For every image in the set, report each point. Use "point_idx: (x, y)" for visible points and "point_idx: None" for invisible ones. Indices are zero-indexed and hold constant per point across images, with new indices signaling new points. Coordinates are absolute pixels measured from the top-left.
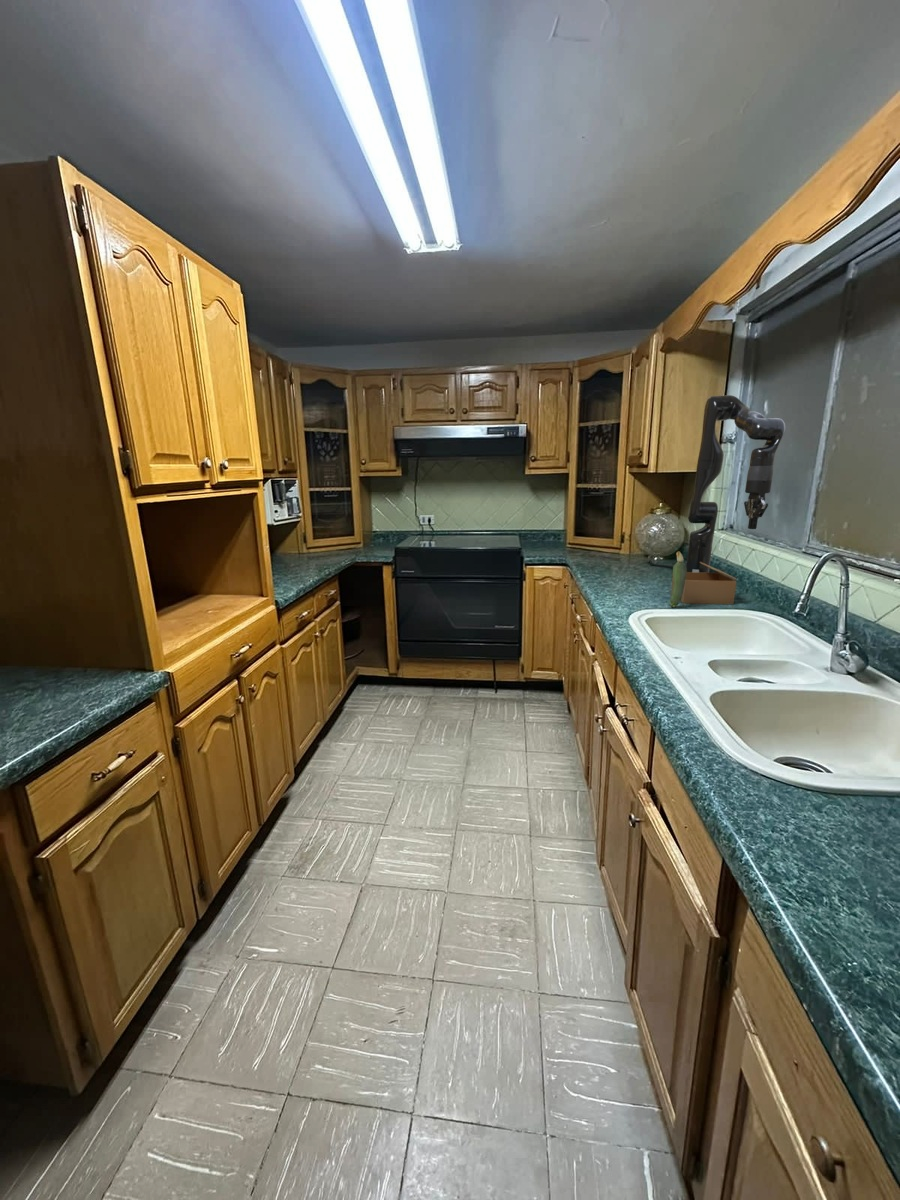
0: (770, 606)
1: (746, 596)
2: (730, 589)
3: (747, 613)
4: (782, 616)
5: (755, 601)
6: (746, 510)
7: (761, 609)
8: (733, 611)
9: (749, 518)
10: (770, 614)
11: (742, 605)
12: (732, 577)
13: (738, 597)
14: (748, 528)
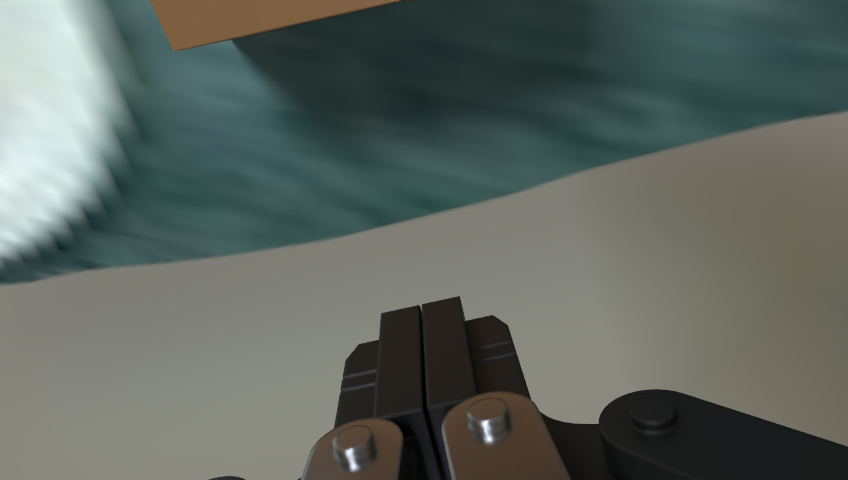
0: (264, 249)
1: (497, 165)
2: None
3: (21, 84)
4: (45, 260)
5: (368, 192)
6: (786, 476)
7: (164, 185)
8: (32, 6)
9: (466, 398)
10: (61, 209)
11: (226, 93)
12: (157, 10)
13: (452, 109)
14: (458, 300)
